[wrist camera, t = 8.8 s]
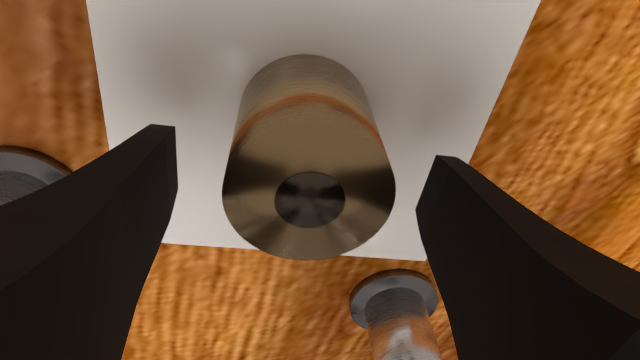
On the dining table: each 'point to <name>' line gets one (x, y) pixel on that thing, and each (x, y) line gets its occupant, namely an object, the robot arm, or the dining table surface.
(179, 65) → the ceramic tile
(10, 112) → the dining table surface
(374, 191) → the brown metallic cylinder
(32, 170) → the spacer field
